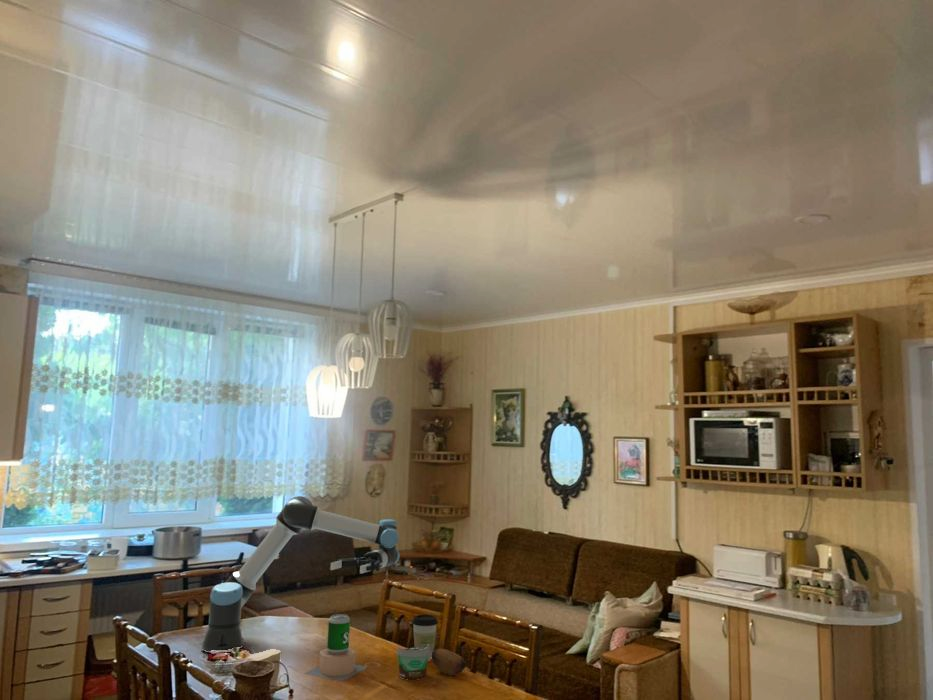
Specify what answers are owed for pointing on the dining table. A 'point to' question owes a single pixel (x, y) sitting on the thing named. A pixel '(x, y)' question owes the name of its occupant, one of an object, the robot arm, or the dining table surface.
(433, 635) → the coffee cup
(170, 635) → the dining table surface
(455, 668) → the potato
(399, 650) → the food container
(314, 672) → the rubber mat
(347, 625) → the soda can
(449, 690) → the dining table surface
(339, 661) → the beige hollow cylinder
